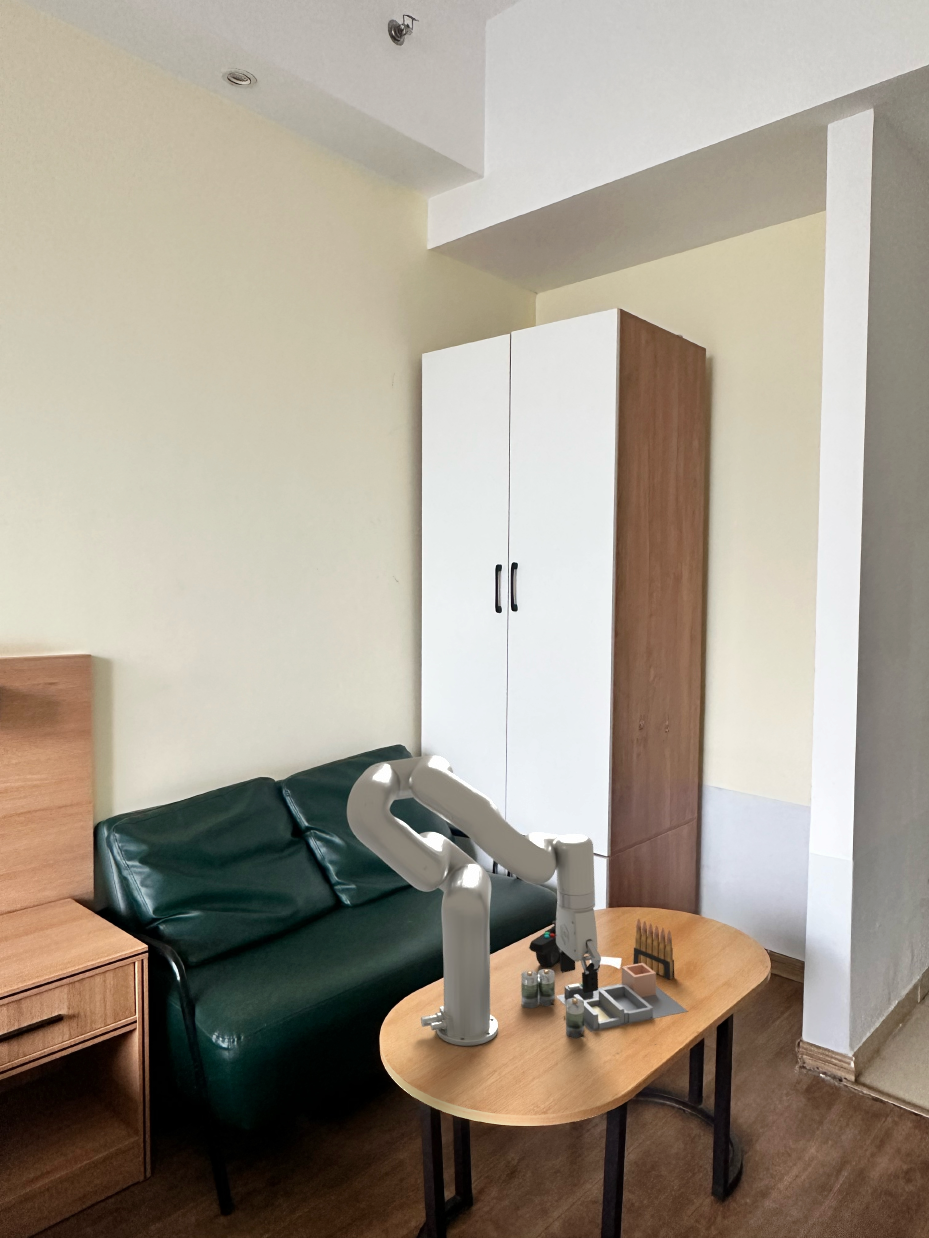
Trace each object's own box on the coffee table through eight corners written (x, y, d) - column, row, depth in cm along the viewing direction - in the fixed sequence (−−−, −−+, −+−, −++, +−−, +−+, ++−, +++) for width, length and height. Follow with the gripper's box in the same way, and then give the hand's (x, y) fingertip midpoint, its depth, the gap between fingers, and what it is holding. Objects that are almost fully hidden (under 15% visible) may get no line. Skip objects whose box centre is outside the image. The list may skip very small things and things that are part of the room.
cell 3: (571, 1039, 178) (571, 1005, 177) (562, 1031, 181) (562, 997, 181) (587, 1036, 179) (587, 1002, 178) (578, 1027, 182) (578, 994, 182)
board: (590, 1036, 179) (590, 1016, 179) (555, 1000, 194) (555, 982, 194) (688, 1015, 187) (688, 997, 186) (647, 982, 202) (647, 965, 202)
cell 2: (542, 1007, 191) (542, 975, 190) (535, 999, 194) (535, 968, 194) (557, 1004, 192) (557, 972, 192) (550, 996, 195) (550, 965, 195)
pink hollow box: (634, 998, 192) (634, 976, 192) (621, 987, 197) (621, 966, 197) (655, 994, 194) (655, 972, 194) (642, 983, 199) (642, 962, 199)
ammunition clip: (632, 968, 209) (633, 918, 209) (637, 965, 210) (638, 916, 210) (669, 984, 201) (670, 932, 200) (674, 981, 202) (675, 930, 202)
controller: (570, 960, 213) (570, 920, 213) (542, 979, 204) (542, 937, 203) (555, 956, 216) (555, 915, 215) (526, 974, 206) (526, 932, 206)
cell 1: (525, 1009, 190) (525, 977, 190) (518, 1001, 193) (518, 969, 193) (541, 1006, 191) (540, 974, 191) (534, 998, 195) (533, 967, 194)
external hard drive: (623, 964, 212) (622, 988, 200) (588, 961, 214) (585, 985, 202) (623, 958, 212) (622, 981, 200) (588, 955, 214) (585, 978, 202)
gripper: (540, 886, 185) (543, 966, 186) (579, 916, 169) (582, 1003, 170) (573, 881, 188) (575, 960, 189) (614, 909, 171) (616, 995, 172)
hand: (578, 980), depth 179 cm, fingers open, 9 cm apart
